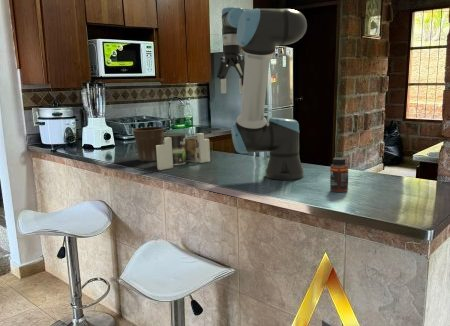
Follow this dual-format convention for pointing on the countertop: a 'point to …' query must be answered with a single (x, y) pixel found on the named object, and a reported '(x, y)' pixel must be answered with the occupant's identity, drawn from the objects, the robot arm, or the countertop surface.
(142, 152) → the plant pot
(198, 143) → the door frame
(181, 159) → the coffee can
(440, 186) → the countertop surface
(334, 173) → the supplement bottle
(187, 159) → the door
